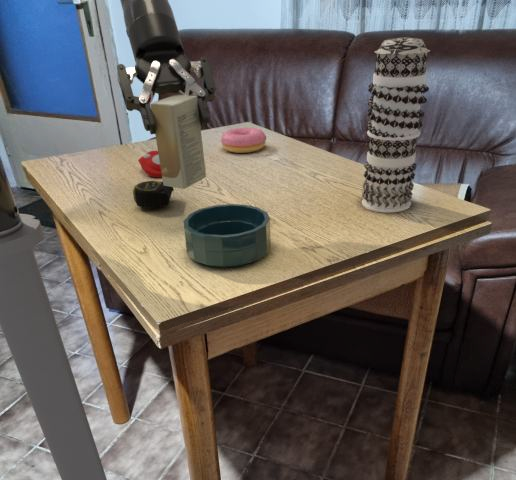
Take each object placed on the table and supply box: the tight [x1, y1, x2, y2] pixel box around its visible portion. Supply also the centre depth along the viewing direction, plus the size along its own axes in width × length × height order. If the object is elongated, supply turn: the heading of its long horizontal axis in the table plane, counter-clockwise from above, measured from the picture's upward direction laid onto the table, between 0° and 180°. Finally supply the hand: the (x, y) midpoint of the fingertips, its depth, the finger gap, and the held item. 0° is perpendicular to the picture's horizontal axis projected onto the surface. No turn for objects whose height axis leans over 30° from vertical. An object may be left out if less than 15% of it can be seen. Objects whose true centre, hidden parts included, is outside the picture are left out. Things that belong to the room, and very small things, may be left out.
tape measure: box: [132, 180, 175, 209], centre depth 93 cm, size 7×7×4 cm
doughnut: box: [220, 127, 267, 154], centre depth 123 cm, size 11×11×4 cm
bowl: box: [183, 203, 272, 268], centre depth 76 cm, size 12×12×5 cm
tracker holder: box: [138, 150, 162, 178], centre depth 112 cm, size 12×4×10 cm
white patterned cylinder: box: [361, 37, 431, 214], centre depth 83 cm, size 9×9×25 cm
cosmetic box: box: [150, 94, 207, 190], centre depth 78 cm, size 6×4×12 cm
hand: (179, 127), depth 76 cm, fingers closed on cosmetic box, 7 cm apart
